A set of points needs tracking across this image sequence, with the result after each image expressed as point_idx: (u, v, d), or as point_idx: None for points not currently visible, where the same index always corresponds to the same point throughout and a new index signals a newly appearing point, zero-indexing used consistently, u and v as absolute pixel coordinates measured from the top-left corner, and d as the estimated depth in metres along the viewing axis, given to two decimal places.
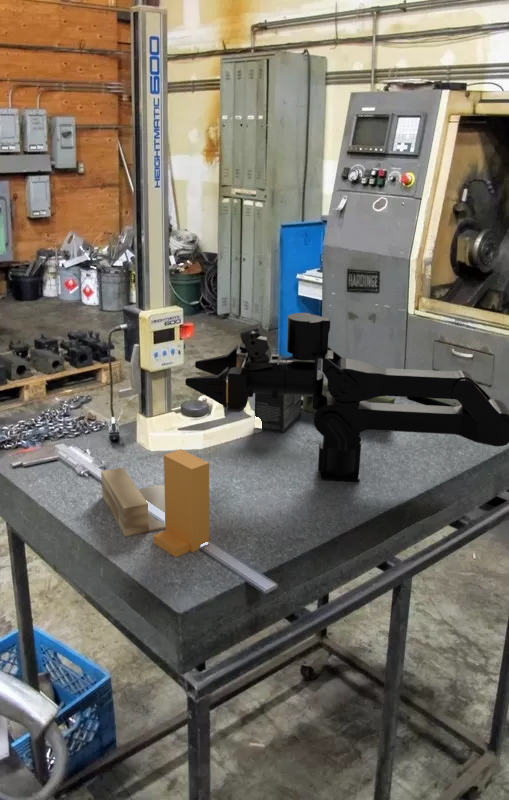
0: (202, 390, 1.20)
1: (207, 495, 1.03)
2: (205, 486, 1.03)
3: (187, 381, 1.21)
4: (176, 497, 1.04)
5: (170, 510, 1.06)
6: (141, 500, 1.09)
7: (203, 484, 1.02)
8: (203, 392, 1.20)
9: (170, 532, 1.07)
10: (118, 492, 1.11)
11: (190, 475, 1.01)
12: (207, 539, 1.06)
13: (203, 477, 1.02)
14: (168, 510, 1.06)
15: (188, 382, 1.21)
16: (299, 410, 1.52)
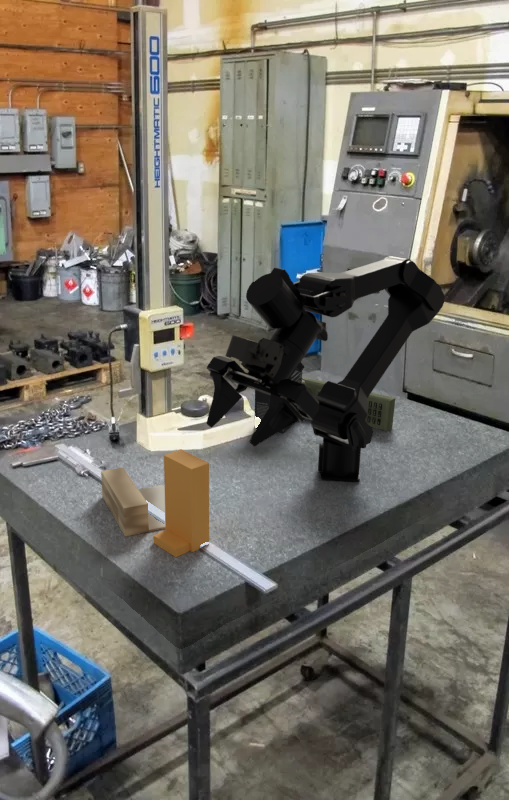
0: (271, 433, 1.05)
1: (207, 495, 1.03)
2: (205, 486, 1.03)
3: (253, 442, 1.05)
4: (176, 497, 1.04)
5: (170, 510, 1.06)
6: (141, 500, 1.09)
7: (203, 484, 1.02)
8: (273, 433, 1.06)
9: (170, 532, 1.07)
10: (118, 492, 1.11)
11: (190, 475, 1.01)
12: (207, 539, 1.06)
13: (203, 477, 1.02)
14: (168, 510, 1.06)
15: (255, 442, 1.05)
16: None
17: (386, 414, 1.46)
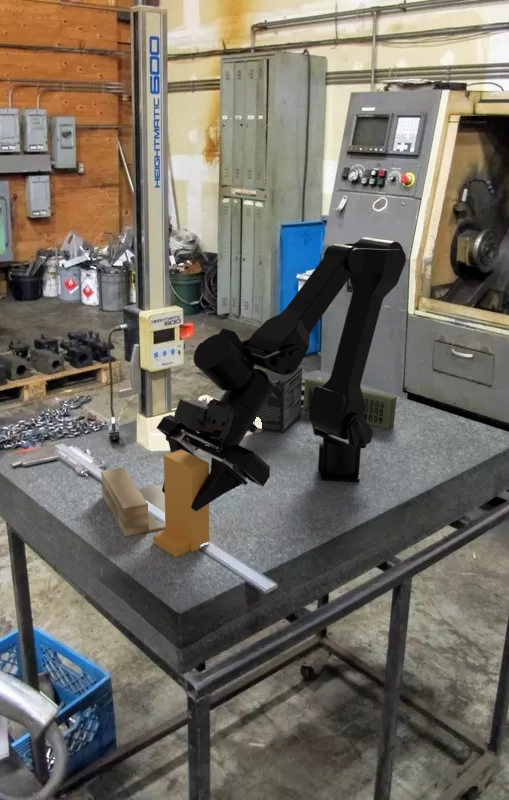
0: (213, 497, 1.03)
1: None
2: None
3: (195, 507, 1.02)
4: (176, 497, 1.04)
5: (170, 510, 1.06)
6: (141, 500, 1.09)
7: None
8: (215, 497, 1.03)
9: (170, 532, 1.07)
10: (118, 492, 1.11)
11: (190, 475, 1.01)
12: (207, 539, 1.06)
13: (203, 477, 1.02)
14: (168, 510, 1.06)
15: (197, 507, 1.02)
16: (299, 410, 1.52)
17: (388, 413, 1.47)
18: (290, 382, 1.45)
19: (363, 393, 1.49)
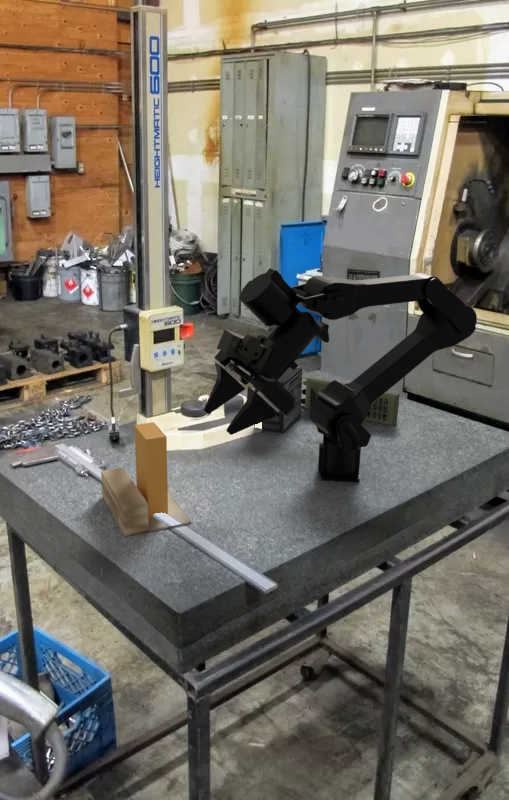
0: (248, 424, 1.11)
1: (165, 466, 1.11)
2: (162, 458, 1.10)
3: (230, 431, 1.11)
4: (140, 465, 1.13)
5: (138, 477, 1.15)
6: (141, 500, 1.09)
7: (160, 455, 1.10)
8: (250, 424, 1.11)
9: None
10: (118, 492, 1.11)
11: (146, 445, 1.09)
12: (166, 508, 1.13)
13: (159, 448, 1.10)
14: (137, 477, 1.15)
15: (231, 431, 1.11)
16: (299, 410, 1.52)
17: (392, 409, 1.48)
18: (290, 382, 1.45)
19: None
